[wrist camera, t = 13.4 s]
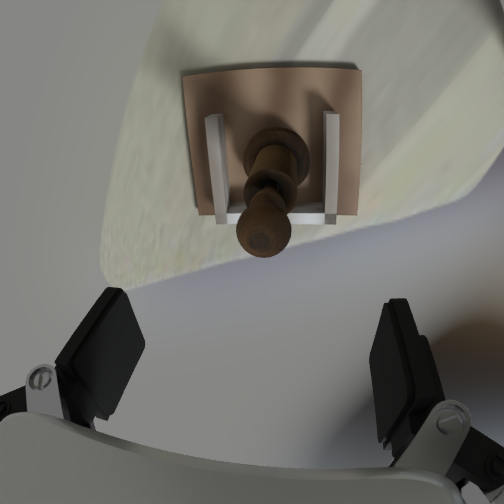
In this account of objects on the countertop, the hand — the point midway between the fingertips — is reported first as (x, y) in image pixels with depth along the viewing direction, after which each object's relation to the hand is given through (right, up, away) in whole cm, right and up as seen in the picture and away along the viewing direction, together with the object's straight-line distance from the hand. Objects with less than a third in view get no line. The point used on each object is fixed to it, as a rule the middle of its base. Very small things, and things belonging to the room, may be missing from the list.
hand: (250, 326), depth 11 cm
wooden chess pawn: (+3, +13, +21) cm, 24 cm away
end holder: (+2, +14, +21) cm, 25 cm away
